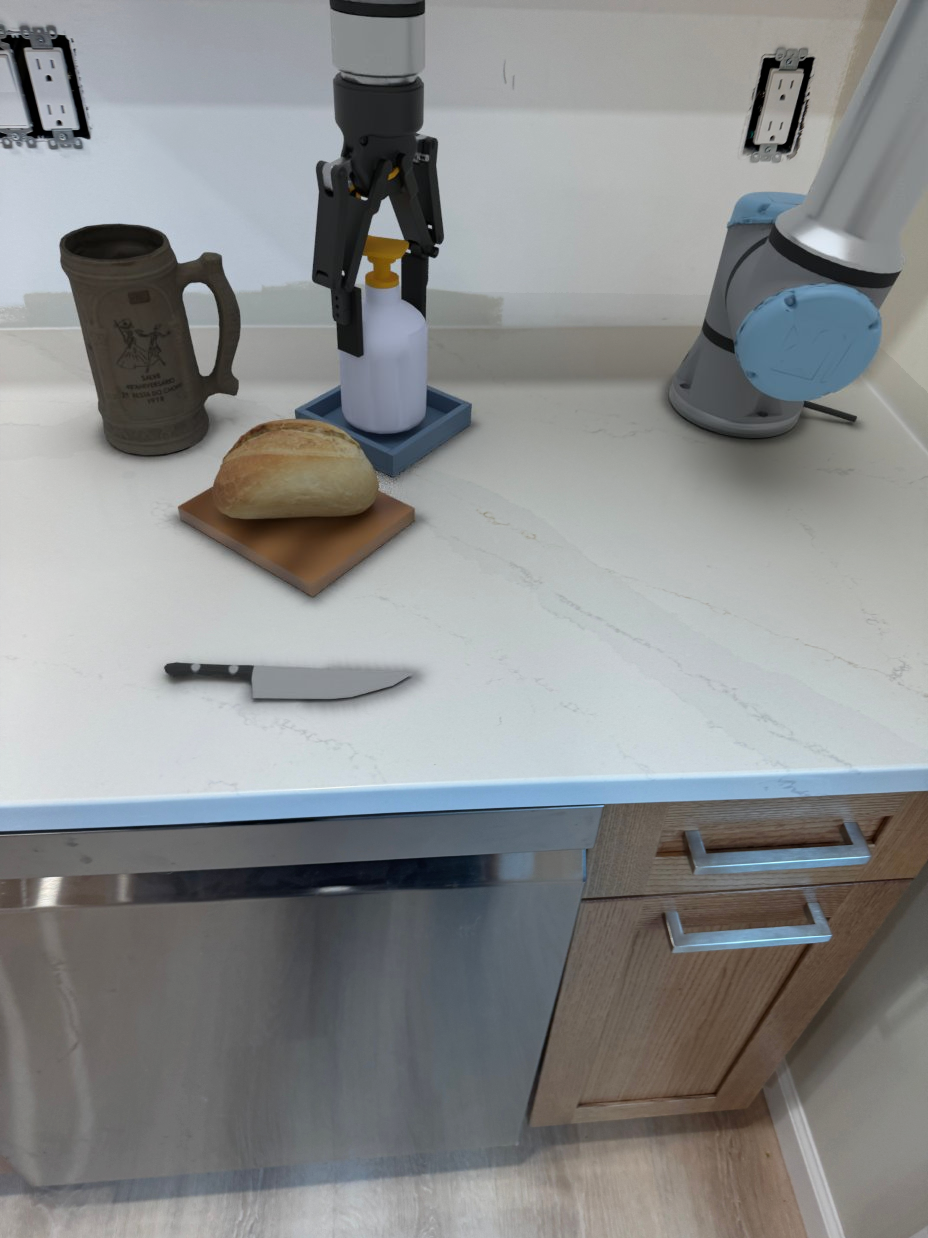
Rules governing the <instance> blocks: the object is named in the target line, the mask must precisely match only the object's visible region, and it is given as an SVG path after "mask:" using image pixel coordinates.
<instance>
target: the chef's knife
mask: <svg viewBox="0 0 928 1238" xmlns="http://www.w3.org/2000/svg"><path fill="white" fill-rule="evenodd" d="M163 669H164V672H165V674H167V675H168V676H171V677H172V678H174V679H175V678H180V677H191V676H213V677H223V678H232V679H246V680H249V681H250V682H251V691H252V692H251V693H252V699H289V700H290V699H294V700H295V699H298V700H299V699H300V700H301V699H302V700H303V699H305V700H308V699H309V700H334V699H343V698H344V699H345V698H353V697H356V696H360V695H363V694H367V693H372V692H375V691H378V690H381V689H385V688H386V689H387V688H389V687H392V686H395V685H396V684H398V683H400V682H401V681H403V680H405V679H406V678H408V677H409V676H411V675H413V674H414V672H413V673H411V672H400V671H386V670H369V669H368V670H367V669H350V668H349V669H348V668H330V667H329V668H327V667H324V668H323V667H301V666H278V665H253V664H217V663H216V664H215V663H195V662H179V661H178V662H177V661H176V662H169V663H166V664H165V665H164V666H163Z"/></svg>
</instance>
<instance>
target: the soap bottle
mask: <svg viewBox="0 0 928 1238" xmlns="http://www.w3.org/2000/svg"><path fill="white" fill-rule="evenodd" d="M398 172H399V169H398V167H396V168H394V169H392V172H391V174H389V178H388V180H389V179H392V178H393V177H395V176H396V175H397V173H398ZM354 189H355V188H354V186H353V184H352V186H351V188H350V193H351V191H352V190H354ZM356 198H359V199H362V197H361V196H360V195H359V194H358V193H356ZM408 248H409V243H408V242H407V241H405V240H404V239H399V238H391V237H384V236H375V235H370V234H368V236H367V240H366V244H365V248H364V252H363V255H362V257H363V256H364V257H367V261H368V262H369V263H371V264H372V270H370V271H368V272H367V273H365V275H364V276H365V277H364V293H365V295H364V298H362V322H363V350H364V355H363V356H361V357H359V358H358V357H355V356H353V355H351V354H348V353H346V352H344V351H341V350H339V349H338V362H339V363H338V366H339V381H340V384H339V385H341V401H342V412H343V414H344V417H345V419H346V421H348V422H349V423H350V424H351V425H353V426H354V427H356V428H358V429H361V430H363V431H366V432H372V433H378V434H390V433H399V432H403V431H407V430H410V429H412V428H413V427H415V426H417V425H419V424H420V422H421V421H422V420H423V419H424V417H425V414H426V391H427V385H428V384H427V383H428V348H429V347H428V342H429V341H428V340H429V339H428V337H429V327H428V325H427V322H426V321H427V320H426V321H425V318H424V317H423V315H422V314H421V312H420V311H418V310H417V309H416V308H415V307H414V306H412V305H411V304H409V303H408V302H406V301H404V300H402V299H401V296H400V276H399V274H398V273H397V272H395V271H392V268H391V265H392V264H394V263H396V262H397V260H401V258H402V256H403V255H404V253H405V252H408Z"/></svg>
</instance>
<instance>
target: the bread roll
mask: <svg viewBox="0 0 928 1238" xmlns="http://www.w3.org/2000/svg"><path fill="white" fill-rule="evenodd" d="M212 487H213V490H212V495H213V500H214V503H215V505H216V506H217V508H218V510H219V511H220V512H221V513H222V514H225V515H228V516H229V517H231V518H239V519H266V518H273V519H274V518H291V517H311V516H316V517H317V516H318V517H338V516H350V515H356V514H359V513H362V512H363V511H365V510H366V509H368V508H369V507H370V506H371V504H373V502H374V501H375V499H376V497H377V495H378V490H379V489H380V482H379V478H378V476H377V473H376V471H375V468H373V466H372V464H371V463H370V461H369V460H368V459H367V457H366V456H365V454H364V452H363V450H362V449H361V448H360V445H359V443H358V442H356V441H355V440H354V439H352V438H351V436H350V435H348V434H347V433H346V432H345V431H343V430H342V429H340V428H338V427H336V426H334V425H331V424H329V423H326V422H321V421H317V420H308V419H296V418H285V419H278V420H277V419H276V420H271V421H267V422H262V423H259V424H257V425H255V426H254V427H252V428H251V429H249V430H247V432H246V433H243V435H241V436H240V437H238V440H237V441H236V442H235V443H234V444H233V446H232V447H231V448H230V449H229V450H228V451H227V453H226V454H225V455H224V456H223V458H222V462H221V464H220V466H219V470H218V471H217V474H216V476H215V478H214V482H213V484H212Z"/></svg>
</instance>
